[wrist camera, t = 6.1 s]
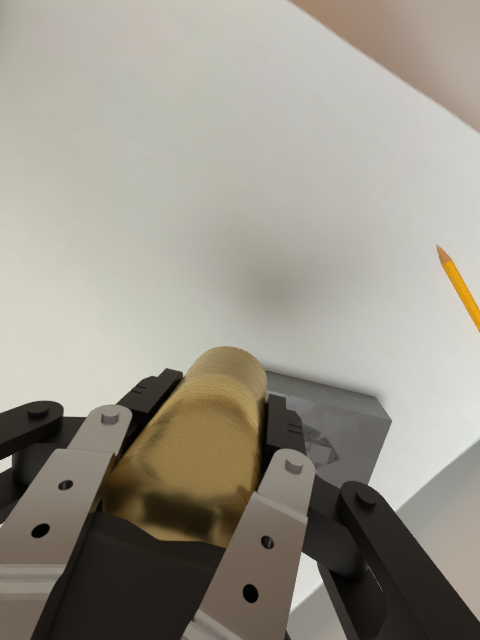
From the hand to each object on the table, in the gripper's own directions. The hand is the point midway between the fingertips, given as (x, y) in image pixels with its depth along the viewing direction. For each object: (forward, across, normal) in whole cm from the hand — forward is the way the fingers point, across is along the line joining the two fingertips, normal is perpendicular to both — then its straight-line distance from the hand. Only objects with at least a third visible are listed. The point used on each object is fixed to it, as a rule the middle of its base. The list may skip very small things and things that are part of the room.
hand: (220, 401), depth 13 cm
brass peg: (+2, 0, 0) cm, 2 cm away
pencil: (+16, -19, -6) cm, 25 cm away
